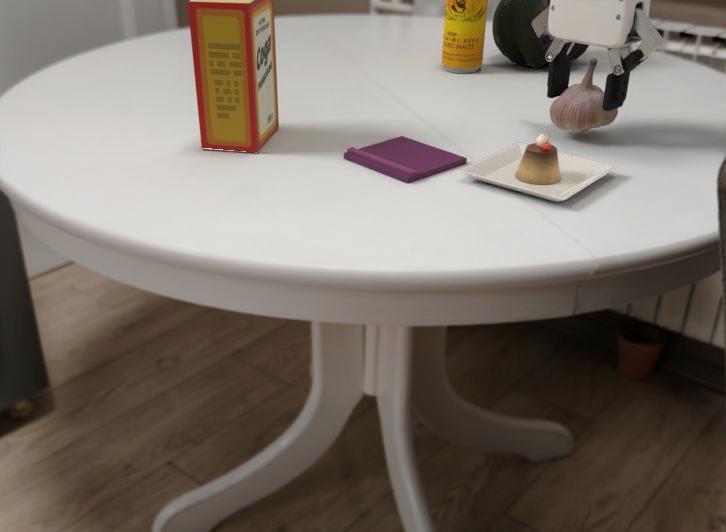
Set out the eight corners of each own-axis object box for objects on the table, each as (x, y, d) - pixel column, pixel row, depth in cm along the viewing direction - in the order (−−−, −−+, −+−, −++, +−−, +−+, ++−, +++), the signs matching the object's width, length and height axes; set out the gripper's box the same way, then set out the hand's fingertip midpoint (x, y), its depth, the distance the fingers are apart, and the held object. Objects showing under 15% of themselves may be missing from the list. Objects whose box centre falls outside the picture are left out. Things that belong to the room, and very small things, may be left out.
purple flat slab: (466, 163, 87) (467, 154, 87) (407, 183, 82) (408, 173, 82) (401, 140, 94) (402, 132, 93) (343, 158, 89) (343, 149, 88)
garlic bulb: (618, 122, 96) (630, 52, 92) (609, 140, 90) (621, 67, 86) (554, 116, 99) (562, 48, 94) (541, 133, 93) (549, 62, 89)
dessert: (562, 211, 76) (570, 162, 74) (456, 181, 83) (460, 135, 80) (617, 176, 84) (626, 130, 81) (516, 151, 90) (521, 108, 88)
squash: (620, 35, 116) (595, -59, 118) (524, 46, 113) (500, -51, 115) (576, 83, 130) (555, -2, 132) (490, 93, 127) (469, 6, 129)
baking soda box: (257, 153, 90) (248, -1, 81) (201, 149, 91) (187, -3, 82) (278, 127, 98) (272, -15, 89) (227, 124, 99) (216, -17, 90)
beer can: (436, 71, 120) (443, -39, 112) (447, 62, 125) (454, -44, 117) (476, 75, 119) (485, -37, 111) (485, 66, 123) (495, -42, 115)
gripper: (705, -70, 80) (670, 110, 89) (559, -79, 91) (542, 82, 100) (665, -64, 76) (633, 125, 85) (517, -73, 87) (503, 94, 96)
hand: (584, 100), depth 93 cm, fingers closed on garlic bulb, 6 cm apart
